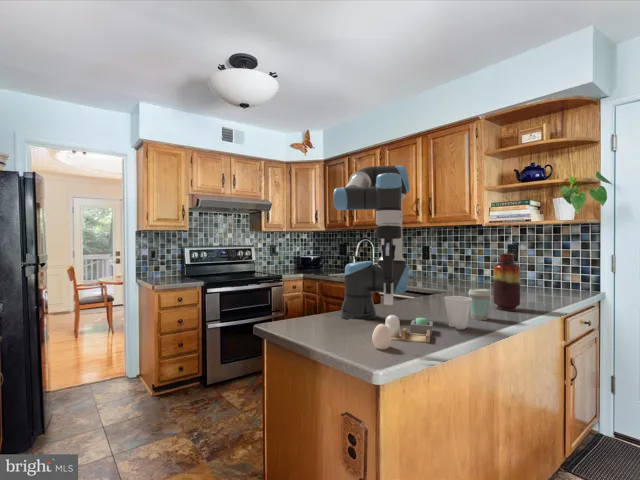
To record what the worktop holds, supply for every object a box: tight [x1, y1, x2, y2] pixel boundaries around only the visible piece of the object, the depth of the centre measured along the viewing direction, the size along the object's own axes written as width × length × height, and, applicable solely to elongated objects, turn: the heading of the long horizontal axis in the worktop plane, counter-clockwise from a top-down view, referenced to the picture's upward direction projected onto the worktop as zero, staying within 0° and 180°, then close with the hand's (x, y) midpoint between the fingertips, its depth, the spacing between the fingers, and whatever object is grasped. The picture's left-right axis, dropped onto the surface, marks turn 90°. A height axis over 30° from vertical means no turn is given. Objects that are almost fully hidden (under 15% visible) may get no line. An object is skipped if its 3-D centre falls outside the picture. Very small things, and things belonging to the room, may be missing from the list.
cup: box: [443, 295, 472, 330], centre depth 132 cm, size 10×10×11 cm
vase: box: [493, 253, 521, 312], centre depth 167 cm, size 11×11×26 cm
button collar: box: [409, 319, 434, 336], centre depth 122 cm, size 7×7×4 cm
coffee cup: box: [467, 288, 491, 321], centre depth 147 cm, size 8×9×12 cm
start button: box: [415, 317, 429, 325], centre depth 122 cm, size 4×4×4 cm
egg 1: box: [372, 323, 392, 350], centre depth 104 cm, size 6×6×8 cm
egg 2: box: [384, 314, 401, 338], centre depth 117 cm, size 5×5×7 cm
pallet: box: [391, 327, 431, 344], centre depth 115 cm, size 16×8×3 cm, turn 71°
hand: (388, 304), depth 106 cm, fingers closed
